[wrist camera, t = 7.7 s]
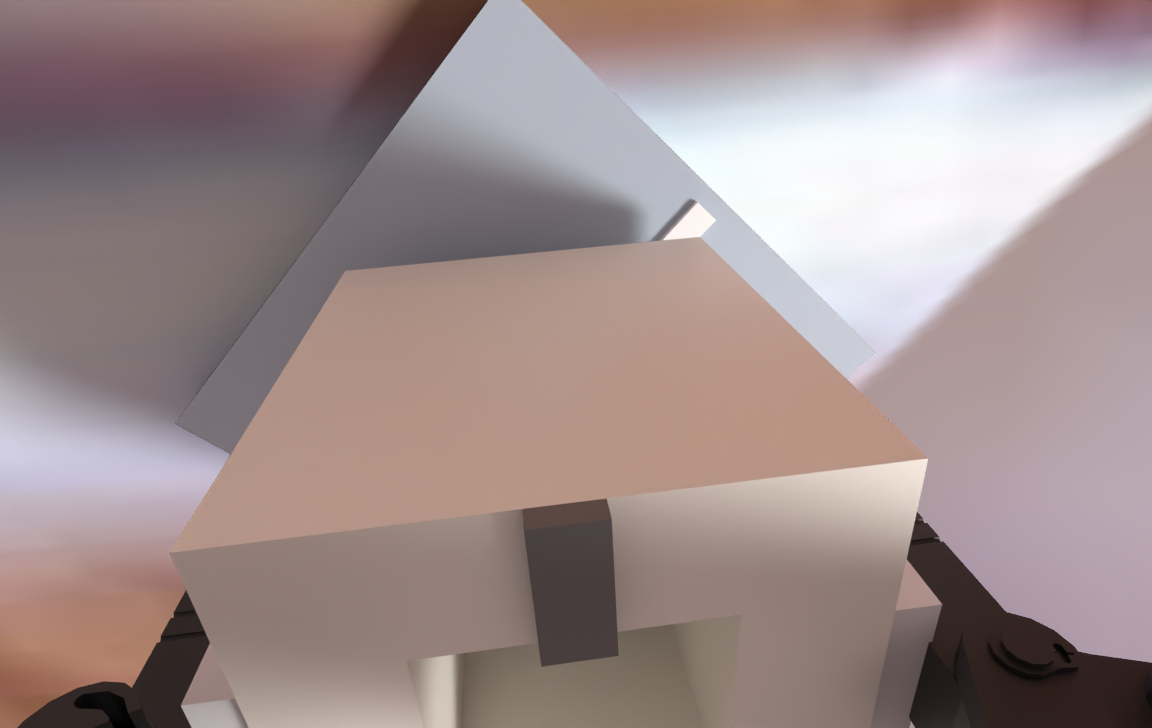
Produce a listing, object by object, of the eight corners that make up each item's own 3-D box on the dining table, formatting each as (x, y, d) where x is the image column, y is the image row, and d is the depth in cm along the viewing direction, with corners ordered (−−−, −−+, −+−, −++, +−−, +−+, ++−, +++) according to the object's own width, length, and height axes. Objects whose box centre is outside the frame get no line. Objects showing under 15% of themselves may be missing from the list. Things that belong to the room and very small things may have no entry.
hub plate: (195, 398, 16) (21, 611, 10) (501, -15, 13) (508, -57, 7) (558, 603, 21) (585, 836, 15) (852, 332, 18) (1039, 488, 12)
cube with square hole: (410, 548, 16) (341, 970, 9) (345, 271, 13) (153, 577, 6) (694, 511, 17) (851, 883, 9) (700, 237, 14) (947, 476, 6)
